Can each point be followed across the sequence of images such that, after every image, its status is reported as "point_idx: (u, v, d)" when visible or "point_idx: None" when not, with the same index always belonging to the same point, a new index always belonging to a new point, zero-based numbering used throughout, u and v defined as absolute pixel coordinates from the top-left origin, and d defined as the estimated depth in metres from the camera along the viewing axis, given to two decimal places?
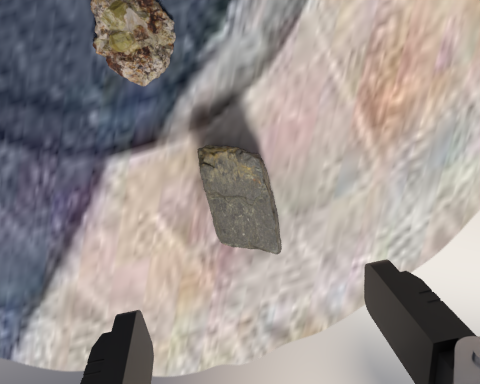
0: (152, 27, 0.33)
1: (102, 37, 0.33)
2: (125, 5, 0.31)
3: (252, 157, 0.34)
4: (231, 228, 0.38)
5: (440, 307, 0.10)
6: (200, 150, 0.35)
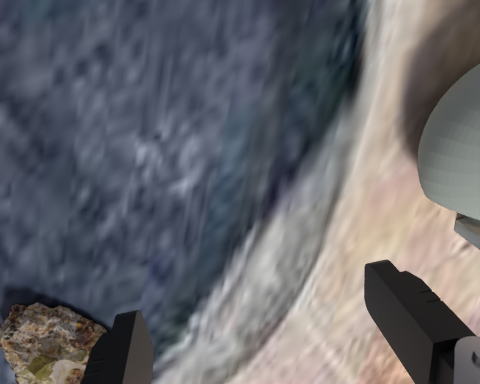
0: None
1: (25, 377, 0.24)
2: (50, 364, 0.22)
3: None
4: None
5: (440, 307, 0.10)
6: None
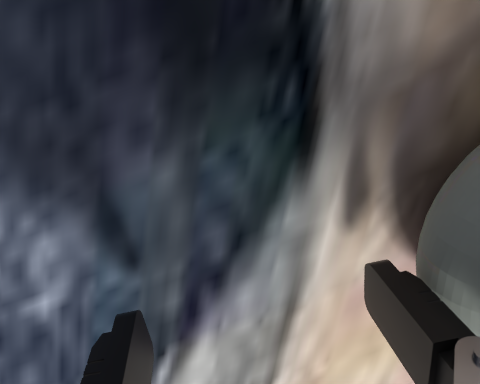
0: None
1: None
2: None
3: None
4: None
5: (440, 307, 0.10)
6: None
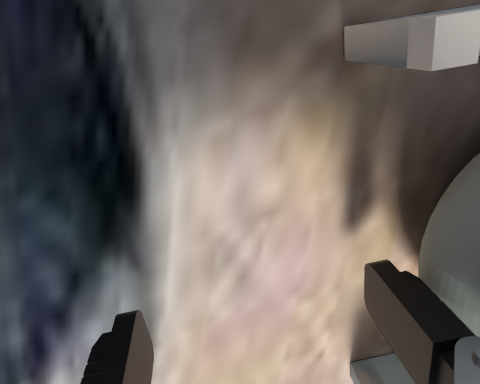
0: None
1: None
2: None
3: None
4: None
5: (440, 307, 0.10)
6: None
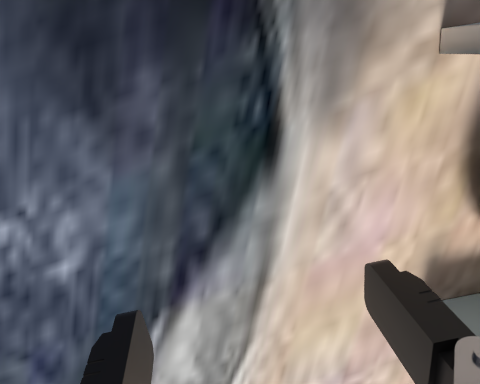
0: None
1: None
2: None
3: None
4: None
5: (440, 307, 0.10)
6: None
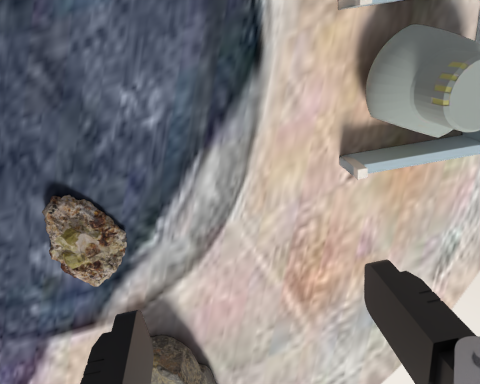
0: (104, 241, 0.36)
1: (57, 249, 0.36)
2: (77, 234, 0.34)
3: (171, 374, 0.37)
4: None
5: (440, 307, 0.10)
6: None
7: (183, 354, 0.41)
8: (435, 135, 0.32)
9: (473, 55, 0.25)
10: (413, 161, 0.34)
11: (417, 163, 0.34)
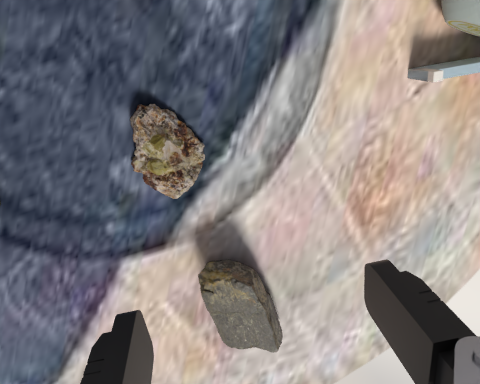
0: (185, 152, 0.37)
1: (140, 159, 0.37)
2: (164, 139, 0.35)
3: (245, 285, 0.39)
4: (234, 336, 0.43)
5: (440, 307, 0.10)
6: (200, 278, 0.40)
7: (251, 273, 0.42)
8: None
9: None
10: None
11: None
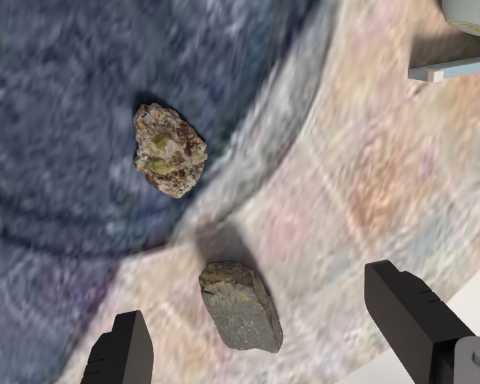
0: (188, 151, 0.37)
1: (143, 158, 0.37)
2: (166, 138, 0.35)
3: (245, 287, 0.39)
4: (235, 337, 0.43)
5: (440, 307, 0.10)
6: (200, 279, 0.41)
7: (251, 275, 0.42)
8: None
9: None
10: None
11: None
